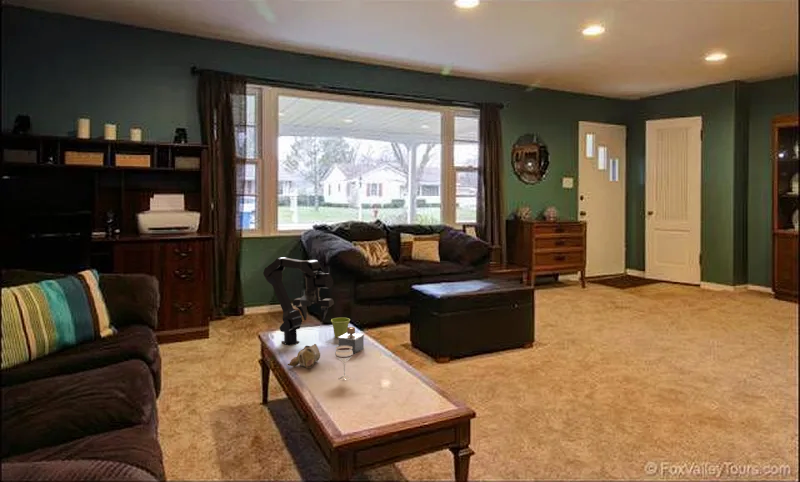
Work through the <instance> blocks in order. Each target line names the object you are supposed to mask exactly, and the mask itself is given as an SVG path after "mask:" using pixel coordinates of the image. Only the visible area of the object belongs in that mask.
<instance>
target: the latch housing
mask: <svg viewBox="0 0 800 482" xmlns="http://www.w3.org/2000/svg"><path fill="white" fill-rule="evenodd" d="M364 336H365V334H363V333H356V332H355V334H352V336H350V334H347V333H345V334H343V335H341V336H339V337H338V338H337V339H338V346H343V345H347V346H352V347H353V348H352V351H353V355H357V354H358V353H360V352H361V351H363V350H364V349H365V348H364V347H365V346H364V342H365V341H364Z"/></svg>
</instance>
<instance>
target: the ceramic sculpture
mask: <svg viewBox="0 0 800 482" xmlns="http://www.w3.org/2000/svg"><path fill="white" fill-rule="evenodd" d="M298 351H299V350H298ZM320 358H321V352H320V349H319V348H318V345H317V344H316V343H314V344H312V345H305V346H304V347H303V349H300V351H299V352H298V353H297V355H296V356H295V357H293V358H292V359H291V360H290V361H289V363H287V366H289V367H296V366H298V365H300V366H301V367H305V368H306V369H310V368H311V369H312V368H313V366H314V364H315V363H317V362H319V360H320Z"/></svg>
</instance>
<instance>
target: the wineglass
mask: <svg viewBox="0 0 800 482" xmlns="http://www.w3.org/2000/svg"><path fill="white" fill-rule="evenodd" d="M352 348H353V347H352V346H347V345H343V346H339V345H338V346H336V347H335V358H337V360H338V361H341V362H342V363H343V365H342V366H343V375H341V376H340V375H339V376H338V380H340V381H348V380H351V376H349V375H346V362H347V361H349V360H350V359H352V357H353V355H354V354H353V351H352Z"/></svg>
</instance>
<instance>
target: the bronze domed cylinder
mask: <svg viewBox="0 0 800 482" xmlns="http://www.w3.org/2000/svg"><path fill="white" fill-rule="evenodd" d="M355 333H356V327H355V326H348V328H347V334H350V336H352V334H355Z"/></svg>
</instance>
